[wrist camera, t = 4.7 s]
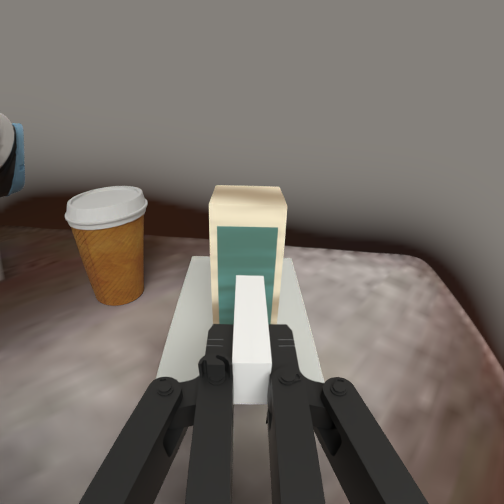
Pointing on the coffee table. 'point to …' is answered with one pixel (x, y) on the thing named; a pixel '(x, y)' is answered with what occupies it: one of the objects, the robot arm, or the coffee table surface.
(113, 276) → the disposable coffee cup
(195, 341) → the mat
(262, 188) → the block
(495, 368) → the coffee table surface
